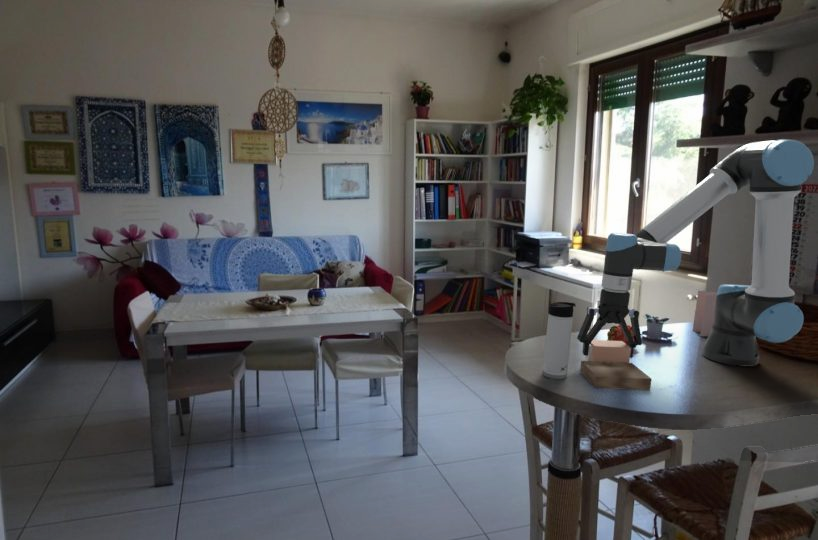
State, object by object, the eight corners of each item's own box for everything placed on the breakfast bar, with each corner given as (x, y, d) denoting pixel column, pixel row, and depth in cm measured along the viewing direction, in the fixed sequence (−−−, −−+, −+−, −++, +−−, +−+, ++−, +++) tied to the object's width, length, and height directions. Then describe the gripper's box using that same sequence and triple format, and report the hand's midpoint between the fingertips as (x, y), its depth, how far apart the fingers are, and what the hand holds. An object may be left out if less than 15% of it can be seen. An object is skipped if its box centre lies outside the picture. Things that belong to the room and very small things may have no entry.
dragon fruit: (603, 354, 174) (630, 356, 179) (624, 345, 167) (651, 347, 173) (596, 329, 177) (623, 331, 183) (616, 319, 171) (643, 322, 176)
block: (619, 364, 159) (622, 341, 158) (627, 372, 153) (630, 347, 152) (584, 363, 159) (587, 339, 158) (592, 370, 153) (594, 346, 152)
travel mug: (569, 381, 145) (576, 306, 141) (543, 378, 146) (550, 303, 143) (567, 372, 151) (574, 300, 147) (542, 370, 152) (549, 298, 149)
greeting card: (728, 335, 198) (734, 294, 195) (730, 340, 191) (737, 298, 189) (692, 330, 202) (698, 290, 200) (693, 335, 196) (699, 293, 193)
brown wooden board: (630, 373, 153) (631, 362, 152) (650, 390, 141) (651, 378, 141) (580, 371, 153) (581, 360, 152) (595, 387, 141) (596, 376, 140)
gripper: (579, 290, 148) (570, 370, 152) (662, 294, 149) (651, 374, 153) (570, 284, 156) (562, 361, 159) (650, 289, 156) (639, 364, 160)
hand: (605, 367), depth 156 cm, fingers closed on block, 10 cm apart
